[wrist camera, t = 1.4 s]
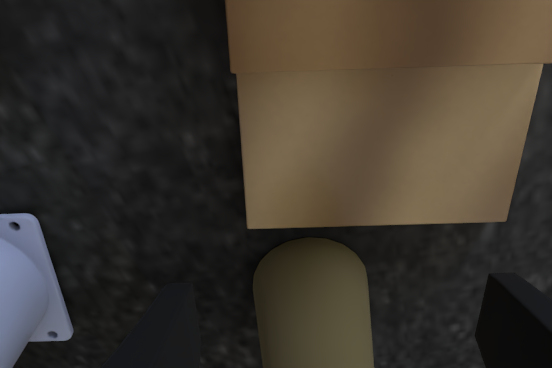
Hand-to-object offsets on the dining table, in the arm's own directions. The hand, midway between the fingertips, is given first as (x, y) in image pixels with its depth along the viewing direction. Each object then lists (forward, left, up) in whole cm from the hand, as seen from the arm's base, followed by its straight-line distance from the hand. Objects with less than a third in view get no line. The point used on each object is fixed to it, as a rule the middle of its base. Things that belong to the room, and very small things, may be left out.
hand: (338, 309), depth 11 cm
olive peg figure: (0, -8, -11) cm, 13 cm away
